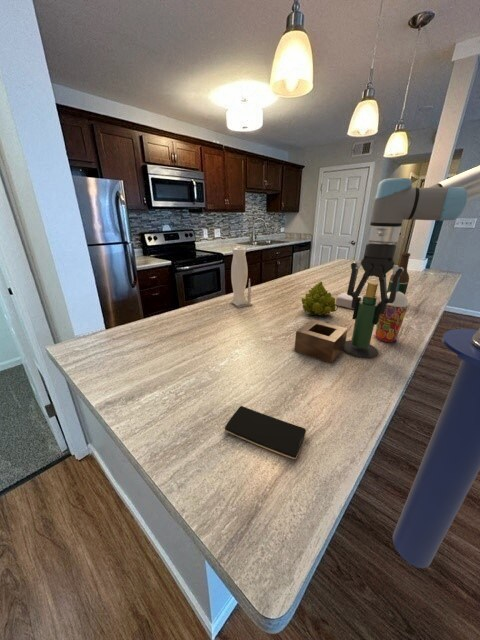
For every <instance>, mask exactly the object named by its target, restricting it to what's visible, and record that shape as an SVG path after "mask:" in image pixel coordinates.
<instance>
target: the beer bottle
mask: <svg viewBox="0 0 480 640" xmlns="http://www.w3.org/2000/svg"><path fill="white" fill-rule="evenodd" d="M410 257H411V253H410V252H401V254H400V258H399V262H398V265H397V266H398V267H400V268H401V267H403V268H404V271H403V272H402V274H401V275H400V279H399V283H400V286H399V290H398V291H399V292H402V293H403V294H404V295H405V296H406V293H407V290H408V286H409V281H410V275H409V272H408V266H409V261H410ZM393 278H394V274H393V273H392V274H391V276H390V277H389V282H388V284H387V285H388V286H387V293H388V292H391V287H392V282H393Z"/></svg>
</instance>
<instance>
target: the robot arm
mask: <svg viewBox="0 0 480 640" xmlns="http://www.w3.org/2000/svg"><path fill="white" fill-rule="evenodd" d="M412 183H413V181H412V179H411V178H408V177H393V178H392V177H391V178H385V179H382V180H381V181H379V183H378V185H377V189H376V192H375V196H374V199H373V201H374V202H373V207H372V212H371V216H370V217H371V218H370V224H369V228H368V234H367V238H366V240H367V241H368V242H366V244H365V248H364V254H363V257H362V259H361V260H360V261H354V262H352V263H351V264H350V268H351V269H350V270H351V273H350V278H349V283H348V287H347V292H346V293H347V295H350V296H352V298H353V299H352V305H351V307H352V308H354V309H353V313H352V318H351V320H356V315H357V310H358V305H359V301H361V298H360V297H358V296H361V293H362V291H363V289H364V287H365V286H366V283H367V282H368V280H369V278H370V277H375V278H378V281H379V292H380V293H379V294H380V299H381V301H379V302H377V303H378V306H377V310H376V315H375V319H374V326H375V325H377V323H378V321H379V316H380V314H383V313H384V312H385V308H386V304H387V303H393V302H394V301H395V298H396V293H397V288H398V284H399V279H400V275H401V274H402V272H403V271H404V268H403V267H401V268H400V267H398V265H395V261H394V260H395V255H396V251H397V247H398V245H397V244H396V243H398V242H399V239H400V234H401V230H402V225H403V221H404V220H406V221H409V220H413V221H440V222H443V221H454V220H457V219H458V218H459V217H460V216H461V215H462V214H463V211H464V210H465V208H466V205H467V201H470V200H473V199H476V198H478V197H480V165H478V166H476V167H473V168H471V169H468V170H466V171H463V172H461V173H458V174H456V175H454V176H452V177H449V178H446V179H445V180H442V181H440V182H438V183H435V184H433V185H430V186H428V187H415V186H412ZM361 268H362V269H363V271H364V273H363V275H362V277H361V278H360V281H359V283H358V284H357V287H356V282H357V278H358V274H359V270H360V269H361ZM391 270H392V274H394V278H393V282H392V287H391V292H390V297H389V298H388V297H387V289H388V286H387V285H388V284H387V273H389V272H390V271H391ZM355 287H356V289H355ZM477 330H478V331H477V332H476V333H475V334H474V335H473V337H472V339H471V343H472V344H473V345H474V346H475V347H476V348H478V349H480V328H478V329H477Z"/></svg>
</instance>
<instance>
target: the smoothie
mask: <svg viewBox="0 0 480 640" xmlns="http://www.w3.org/2000/svg"><path fill="white" fill-rule="evenodd" d="M399 286H400V283H399V284H398V288H397V293H396V298H395V301H394V302H393V303H387V304H386V308H385V312H384V313H383V314H380V316H379V321H378V323H377V324H376V326H375V327H376V328H375V333H374V334H375V337H376V338H377V340H378V341H382V342H385V343H393V342H395V340H396V339H397V338H398V335H399V333H400V330H401V327H402V324H403V321H404V319H405V316H406V314H407V310H408V308H409V305H410V303H409V301H408V298H407V295H406V294H405V295H404V294H403V293H402V292H399V291H398V290H399ZM387 297H388V298H389V297H390V292H388V293H387ZM379 300H380V301H381V298H380V299H379ZM380 301H379V302H380Z"/></svg>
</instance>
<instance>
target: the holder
mask: <svg viewBox="0 0 480 640" xmlns="http://www.w3.org/2000/svg"><path fill="white" fill-rule="evenodd" d="M348 332H349V328H347V327H343V326H340V325H336V324H332V323H329V322H324V321H321V320H317V319H313V318H312V319H310V320H309V321H308V322H306V323H305V324H304V325H302V326H301V327H299V328H298V329H297V330H295V337H294V339H295V340H294V341H295V342H294V347H293V351H294V352H297V353H300V354H303V355H306V356H309V357H311V358H314V359H317V360H320V361H323V362H326V363H329V364H332V363H333V362H334V360H336V358H338V356H339V355H340V354H341V353H342V351H343V348H344V347H345V342H346V341H347V336H348Z"/></svg>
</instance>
